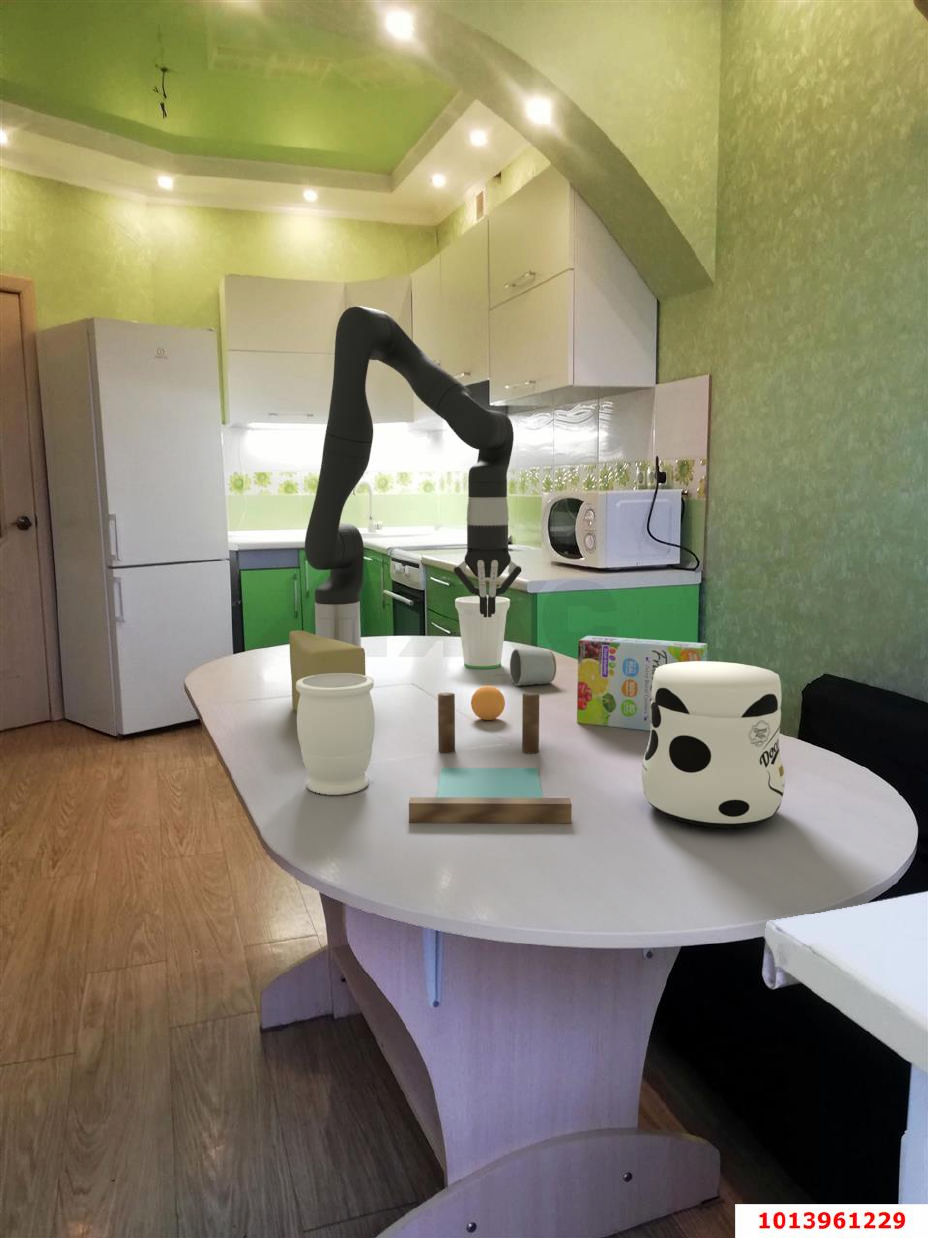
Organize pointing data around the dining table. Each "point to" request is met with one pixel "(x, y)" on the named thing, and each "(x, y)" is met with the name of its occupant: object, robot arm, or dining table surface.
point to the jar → (336, 731)
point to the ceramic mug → (532, 666)
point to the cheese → (321, 658)
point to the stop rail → (489, 810)
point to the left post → (446, 722)
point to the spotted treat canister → (714, 744)
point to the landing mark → (489, 783)
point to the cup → (482, 632)
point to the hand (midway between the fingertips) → (487, 616)
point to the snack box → (624, 677)
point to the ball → (487, 702)
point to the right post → (530, 723)
